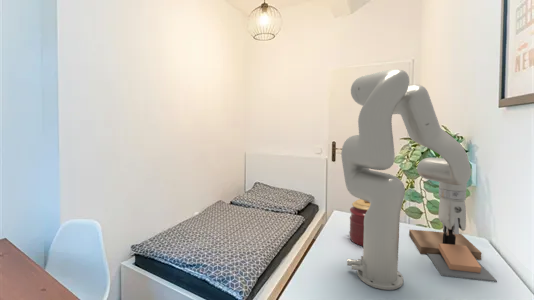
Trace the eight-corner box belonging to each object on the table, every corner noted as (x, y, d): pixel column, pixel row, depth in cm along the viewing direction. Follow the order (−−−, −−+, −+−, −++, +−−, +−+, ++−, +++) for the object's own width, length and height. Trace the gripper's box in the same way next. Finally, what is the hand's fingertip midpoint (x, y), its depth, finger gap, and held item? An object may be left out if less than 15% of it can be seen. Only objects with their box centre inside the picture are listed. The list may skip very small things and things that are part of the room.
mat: (441, 275, 78) (441, 274, 78) (427, 254, 90) (427, 253, 90) (497, 282, 75) (497, 280, 75) (474, 259, 87) (474, 258, 87)
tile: (449, 269, 80) (450, 264, 80) (438, 248, 90) (439, 243, 89) (480, 272, 78) (481, 267, 78) (465, 250, 88) (466, 245, 87)
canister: (382, 251, 93) (383, 203, 91) (345, 242, 100) (346, 198, 98) (386, 237, 104) (388, 194, 102) (353, 230, 111) (354, 190, 109)
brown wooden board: (420, 253, 91) (420, 246, 91) (409, 235, 106) (409, 229, 105) (481, 259, 87) (481, 252, 86) (460, 239, 101) (460, 233, 101)
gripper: (476, 200, 80) (472, 257, 82) (454, 188, 94) (451, 237, 96) (448, 199, 82) (445, 255, 84) (431, 187, 96) (428, 235, 98)
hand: (448, 245), depth 90 cm, fingers closed
